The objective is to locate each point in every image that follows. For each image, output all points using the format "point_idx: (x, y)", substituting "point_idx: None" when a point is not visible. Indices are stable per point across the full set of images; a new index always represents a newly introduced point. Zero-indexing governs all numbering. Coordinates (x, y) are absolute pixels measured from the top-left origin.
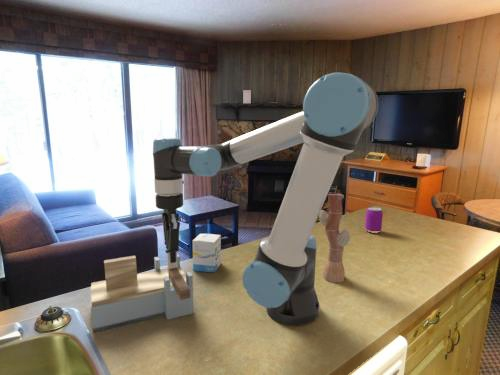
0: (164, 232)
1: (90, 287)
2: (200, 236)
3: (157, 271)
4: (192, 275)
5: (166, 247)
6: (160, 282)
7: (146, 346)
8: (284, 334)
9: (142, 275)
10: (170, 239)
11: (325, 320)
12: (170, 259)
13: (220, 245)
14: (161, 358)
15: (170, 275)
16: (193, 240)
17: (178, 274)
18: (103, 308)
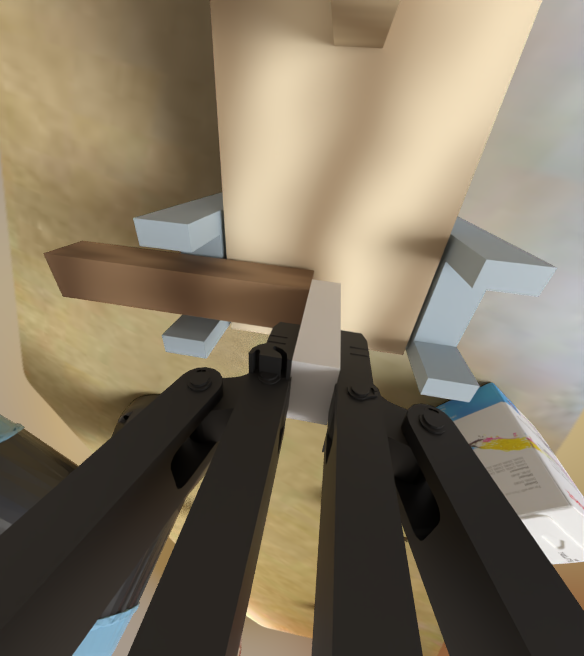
0: (509, 610)
1: None
2: (581, 539)
3: (436, 241)
4: (167, 351)
5: (349, 390)
6: (286, 213)
7: (100, 66)
8: (109, 382)
9: (456, 124)
10: (11, 530)
11: None
12: (291, 335)
13: None
14: (42, 107)
15: (259, 275)
16: (568, 509)
17: (218, 309)
18: None
